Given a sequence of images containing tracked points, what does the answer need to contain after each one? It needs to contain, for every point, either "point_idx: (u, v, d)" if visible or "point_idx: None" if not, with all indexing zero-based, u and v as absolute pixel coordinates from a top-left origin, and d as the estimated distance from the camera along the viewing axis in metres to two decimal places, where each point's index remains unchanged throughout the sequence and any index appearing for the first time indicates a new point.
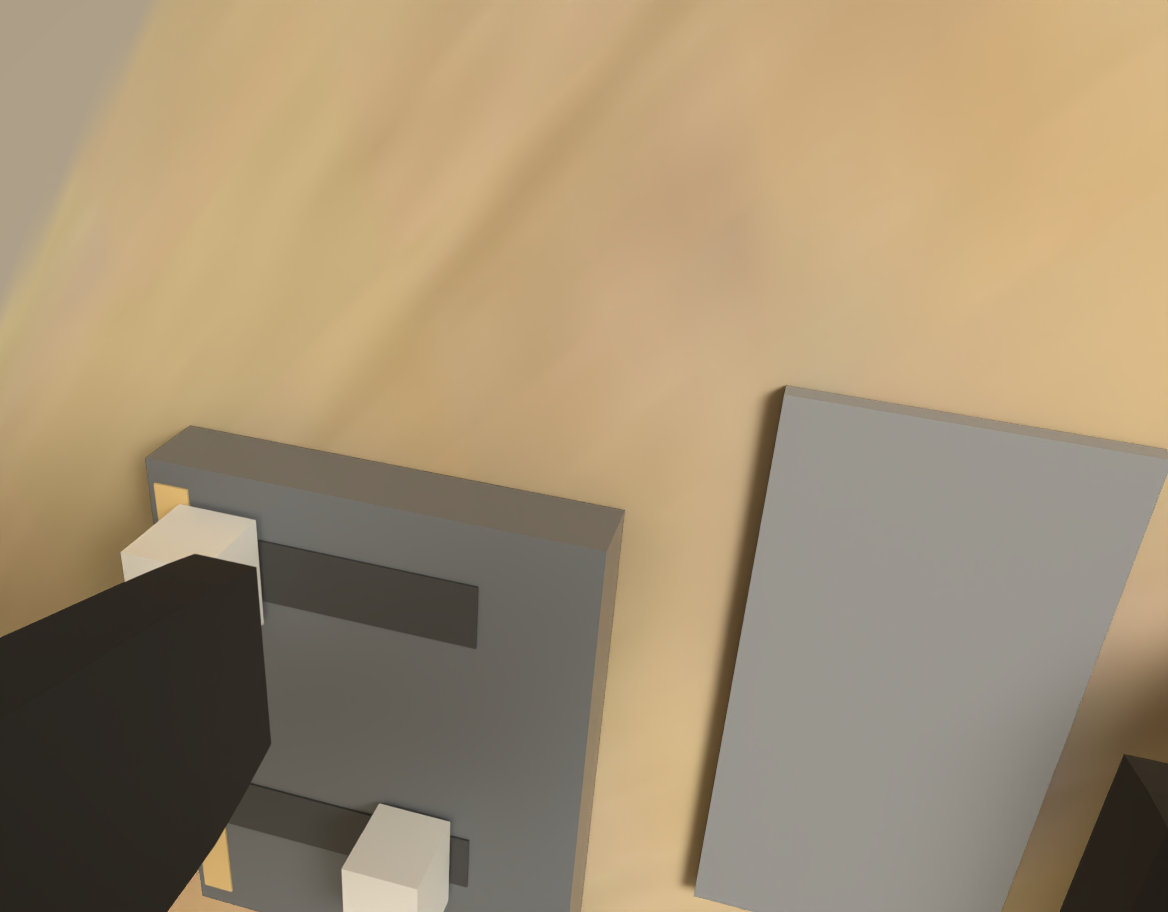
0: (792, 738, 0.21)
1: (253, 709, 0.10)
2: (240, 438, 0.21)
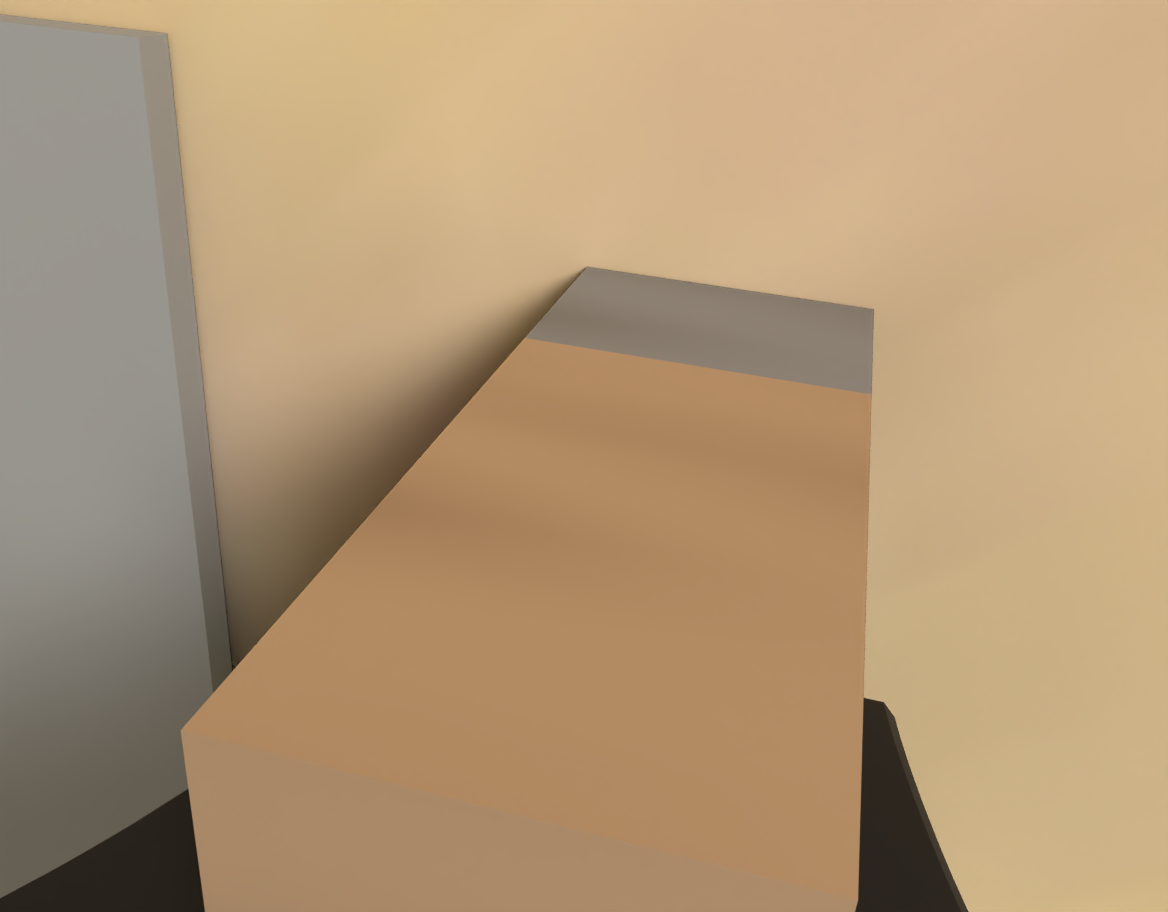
0: None
1: None
2: None
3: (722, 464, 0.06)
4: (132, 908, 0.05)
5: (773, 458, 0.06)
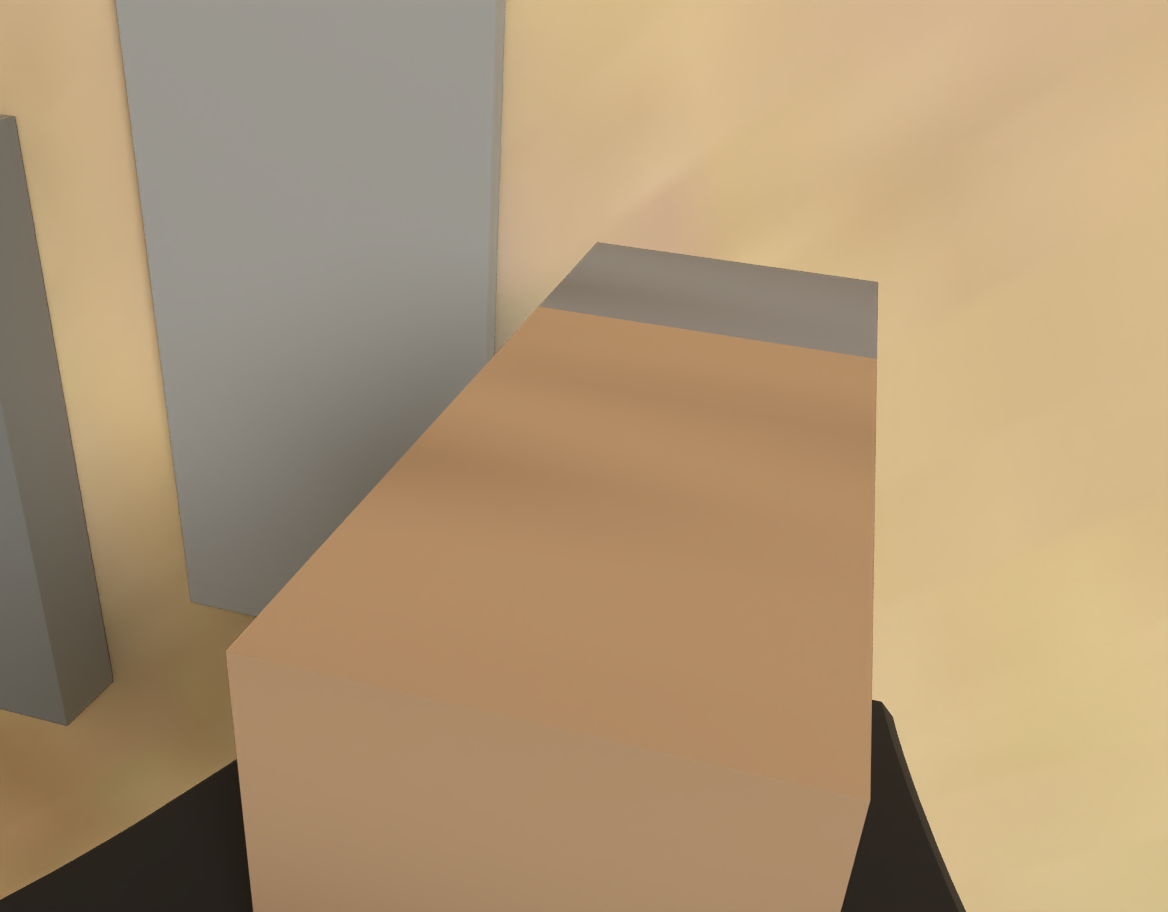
0: (229, 386, 0.18)
1: None
2: None
3: (735, 421, 0.06)
4: (135, 909, 0.05)
5: (782, 416, 0.06)
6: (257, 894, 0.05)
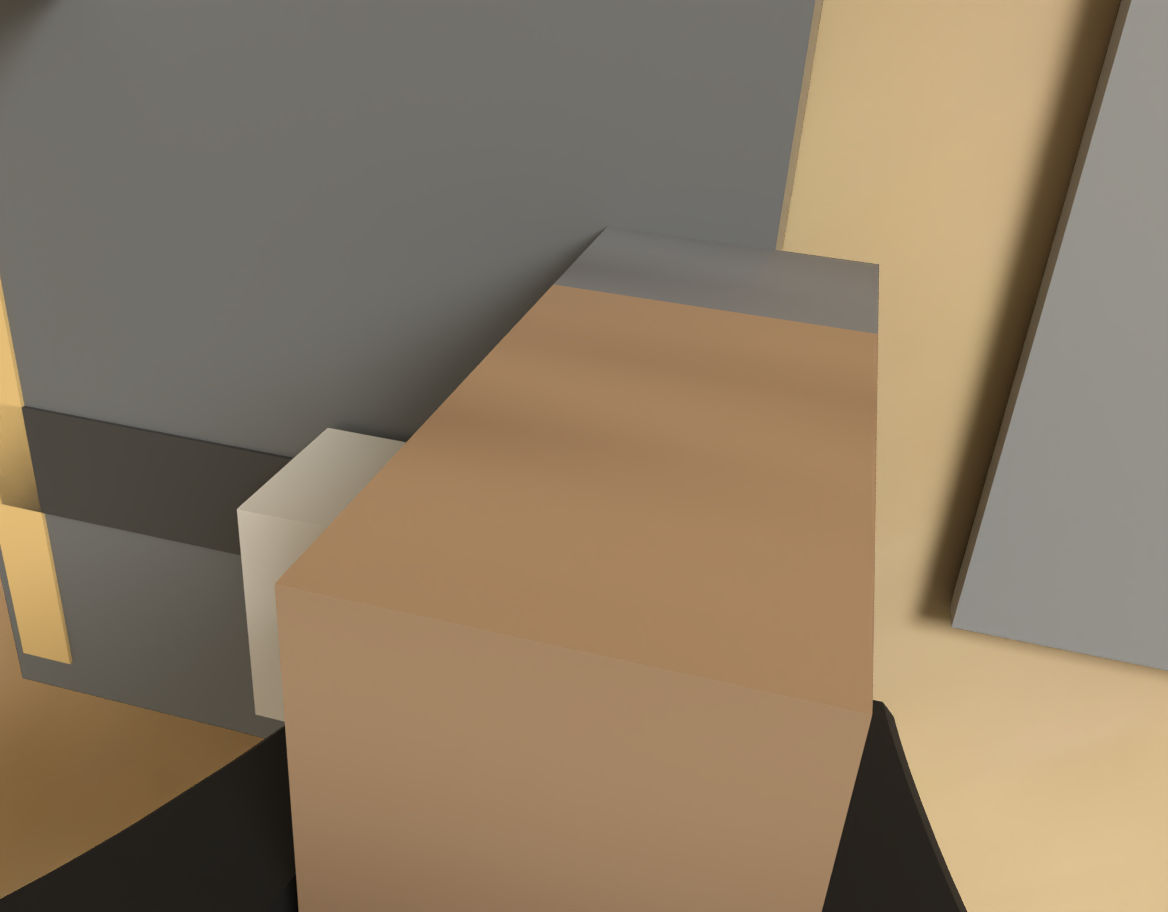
0: None
1: None
2: None
3: (742, 389, 0.06)
4: (133, 908, 0.05)
5: (788, 384, 0.07)
6: (297, 821, 0.05)
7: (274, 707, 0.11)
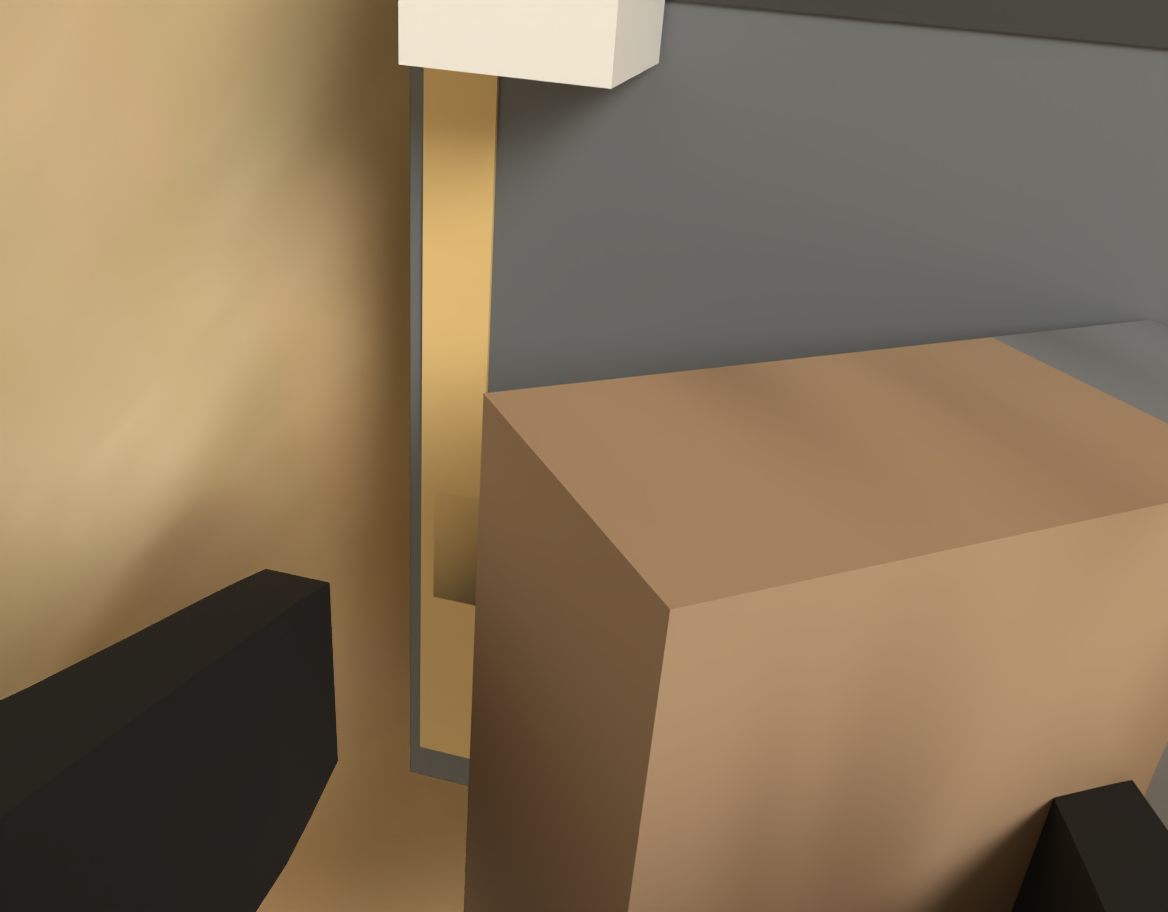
0: None
1: (322, 726, 0.09)
2: None
3: (1011, 449, 0.06)
4: None
5: (1068, 465, 0.06)
6: (478, 574, 0.07)
7: None
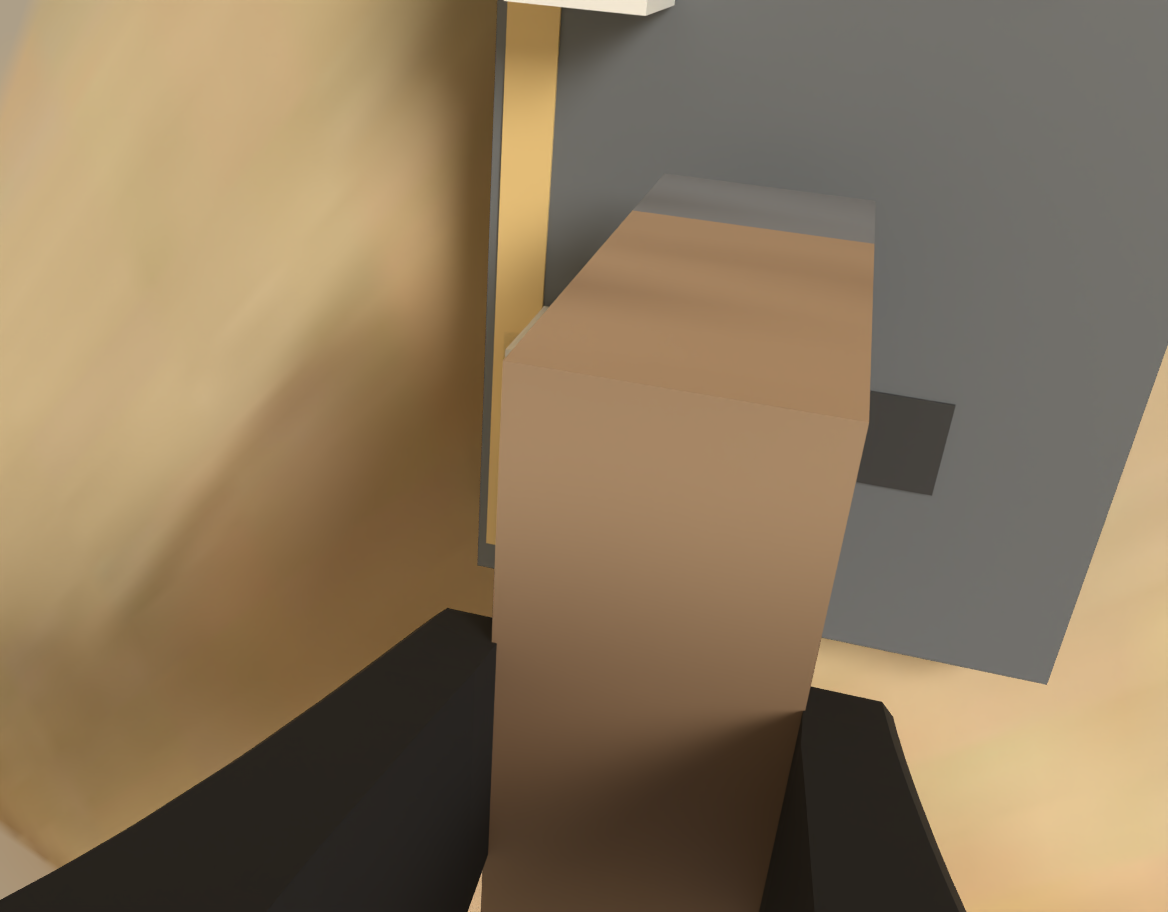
0: None
1: None
2: None
3: (778, 273, 0.09)
4: (135, 908, 0.05)
5: (810, 271, 0.09)
6: (499, 529, 0.08)
7: None
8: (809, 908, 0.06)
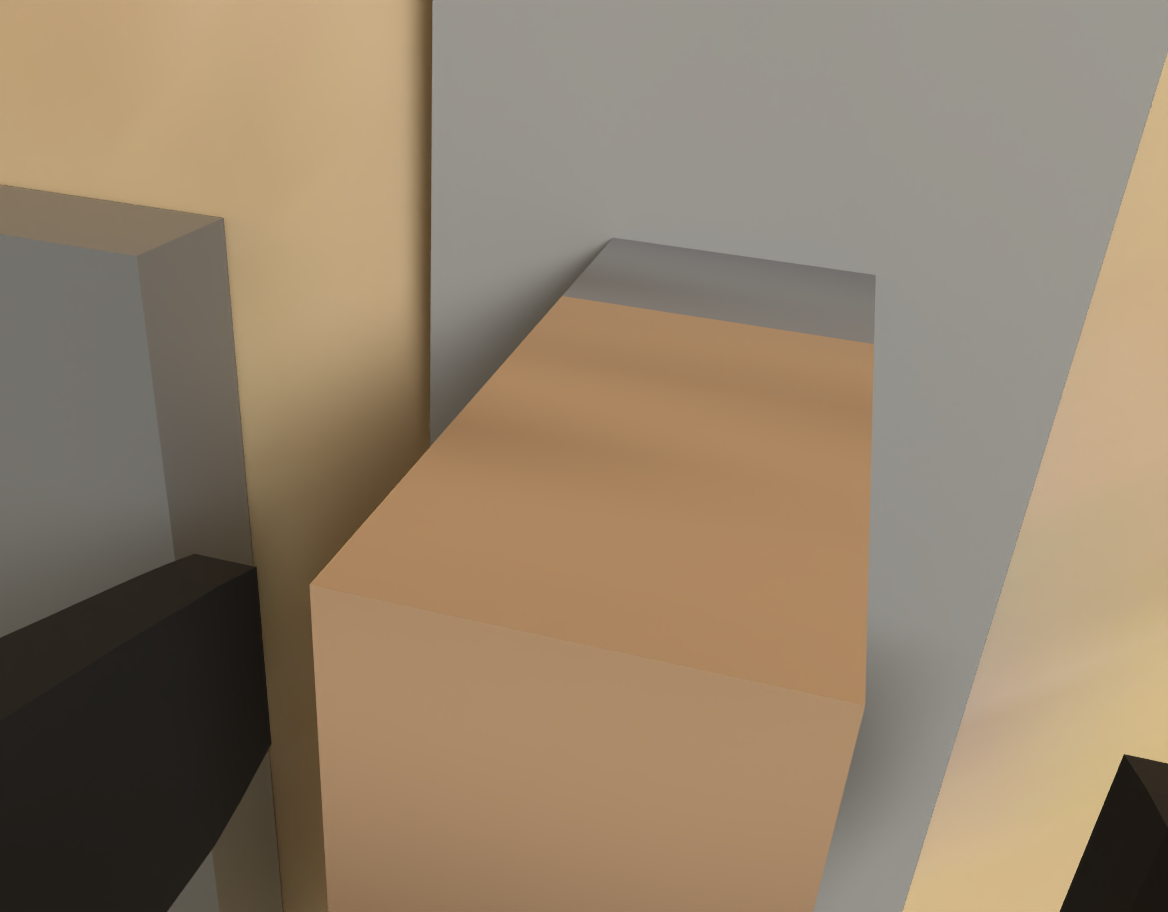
0: None
1: (253, 709, 0.10)
2: None
3: (744, 396, 0.07)
4: None
5: (787, 393, 0.07)
6: (329, 806, 0.05)
7: None
8: None
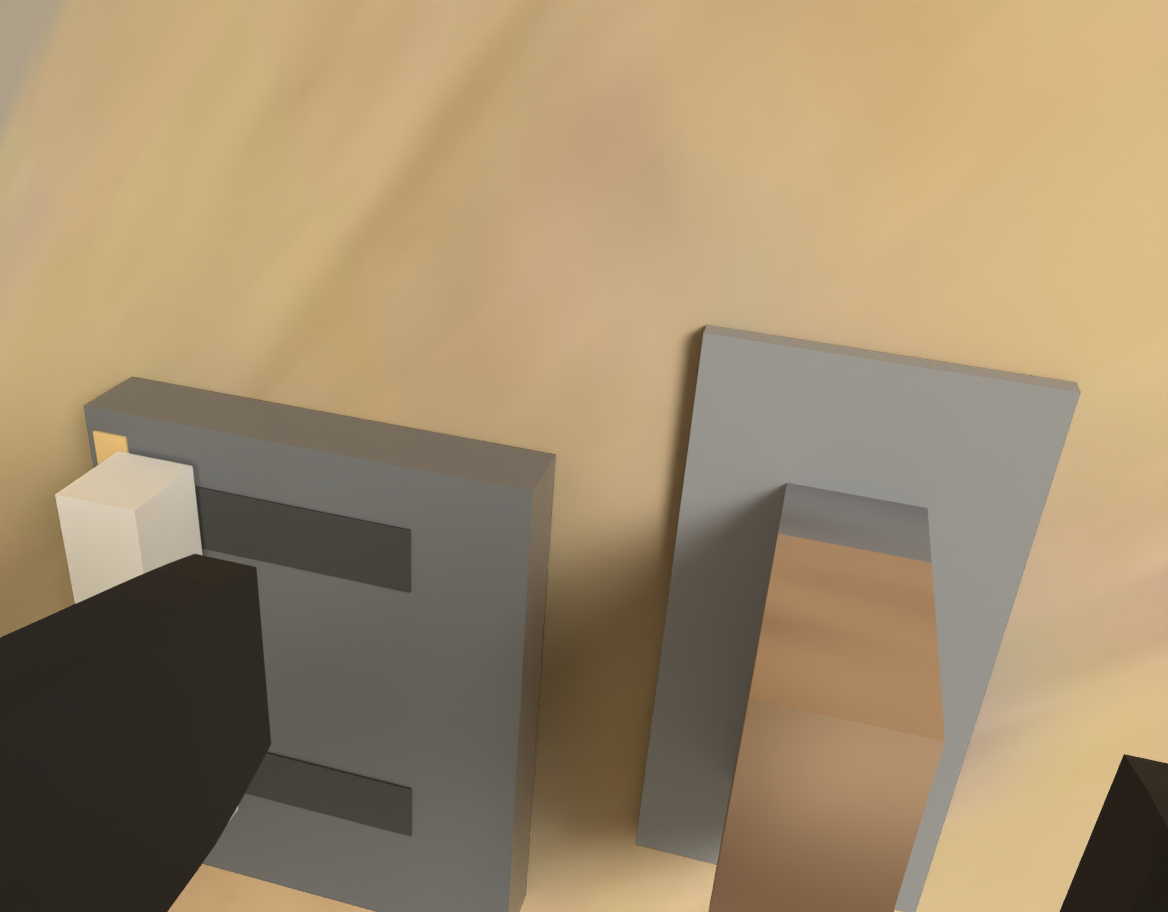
0: (725, 681, 0.21)
1: (253, 709, 0.10)
2: (181, 388, 0.21)
3: (878, 600, 0.16)
4: None
5: (896, 597, 0.16)
6: (737, 777, 0.14)
7: None
8: None
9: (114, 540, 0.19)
